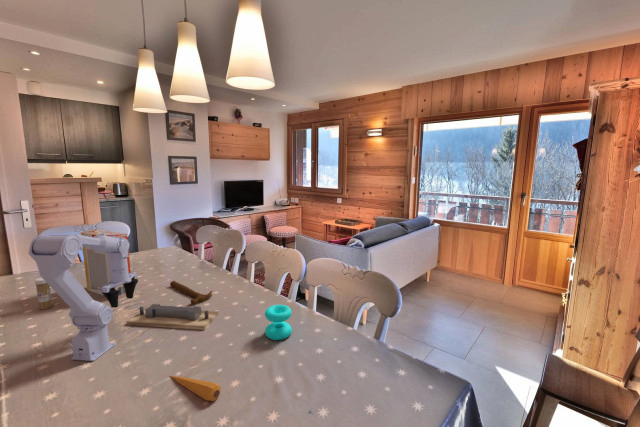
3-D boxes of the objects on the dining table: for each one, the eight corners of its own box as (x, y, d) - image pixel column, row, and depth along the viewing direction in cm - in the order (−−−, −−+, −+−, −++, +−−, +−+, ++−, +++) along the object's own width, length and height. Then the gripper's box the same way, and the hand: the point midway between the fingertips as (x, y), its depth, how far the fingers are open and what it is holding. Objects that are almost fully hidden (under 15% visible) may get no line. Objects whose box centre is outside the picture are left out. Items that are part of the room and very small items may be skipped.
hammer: (164, 289, 152) (193, 306, 133) (164, 283, 151) (193, 300, 133) (186, 282, 161) (217, 298, 142) (186, 277, 160) (216, 292, 142)
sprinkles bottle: (36, 310, 127) (32, 280, 125) (42, 305, 131) (38, 277, 129) (49, 309, 128) (45, 279, 126) (55, 304, 133) (51, 276, 131)
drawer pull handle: (195, 320, 117) (194, 312, 116) (145, 317, 119) (145, 309, 118) (201, 314, 122) (201, 306, 121) (153, 311, 124) (153, 304, 123)
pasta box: (132, 292, 146) (127, 233, 142) (115, 299, 139) (109, 237, 134) (104, 284, 156) (98, 229, 151) (87, 290, 148) (80, 232, 144)
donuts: (289, 301, 116) (293, 313, 106) (289, 325, 117) (294, 339, 108) (263, 304, 113) (265, 317, 103) (264, 328, 114) (266, 343, 105)
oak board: (204, 329, 113) (203, 319, 113) (127, 324, 116) (126, 314, 116) (218, 314, 125) (217, 304, 124) (147, 310, 128) (146, 300, 127)
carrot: (221, 400, 80) (224, 382, 81) (208, 405, 76) (212, 386, 77) (174, 382, 89) (177, 366, 91) (160, 385, 86) (164, 368, 87)
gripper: (113, 276, 103) (117, 312, 105) (142, 262, 117) (145, 294, 120) (94, 275, 104) (99, 311, 106) (125, 261, 118) (129, 293, 120)
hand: (122, 302), depth 113 cm, fingers open, 7 cm apart
